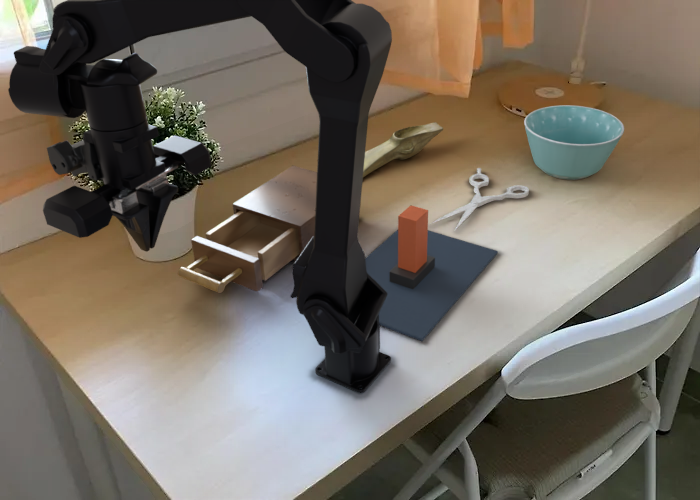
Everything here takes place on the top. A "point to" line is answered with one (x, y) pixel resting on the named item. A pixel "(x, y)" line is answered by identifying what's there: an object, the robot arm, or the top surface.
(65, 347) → the top surface
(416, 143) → the tool
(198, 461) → the top surface
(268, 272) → the drawer
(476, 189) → the scissors
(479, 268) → the mat
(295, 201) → the cabinet
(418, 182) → the top surface
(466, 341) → the top surface
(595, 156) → the bowl
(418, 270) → the stamp
